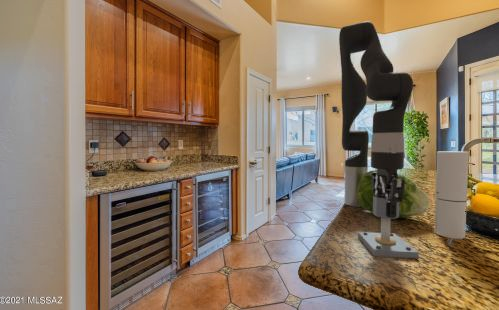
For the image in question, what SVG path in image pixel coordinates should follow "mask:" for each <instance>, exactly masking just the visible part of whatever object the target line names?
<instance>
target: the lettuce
mask: <svg viewBox="0 0 499 310" xmlns="http://www.w3.org/2000/svg"><path fill="white" fill-rule="evenodd" d="M372 172H377V169H376V170H375V169H374V170H369V171H368V172H367V173H365V174H364V175H363V176H362V178H361V180H360V182H359V185H358V189H357V200H358V203H359V204H360V205H361V207H360V208H362V209H364V210H366V211H368V212H369V213H372V214H373V196H374V195H375V193H373V191H372ZM397 174H398V178H399V179H404V180H405V185H404V193H403V201H402V202H399V217H398V218H397V219H404V218H409V217H413V216H420V215H423V214H425V213H427V211H428V209H429V208H430V198H429V196H428V195H427V194H426V192H425V191H424V190H423V189H421V188H420V187H419V186H417V184H416V183H415V182H414V181H413V180H411V179H410V178H408V177H406V176H405V175H402V174H399V173H397ZM389 195H390V194H389ZM398 195H399V194H398Z"/></svg>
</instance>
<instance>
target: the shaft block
mask: <svg viewBox="0 0 499 310" xmlns="http://www.w3.org/2000/svg"><path fill="white" fill-rule="evenodd" d="M391 220H392V219H386V218H381V217H380V232H369V231H368V232H367V231H366V232H365V231H358V232H357V237H358V239H359V240H360V241H361V242H362V243H363V245H364V246H365V247H366V248H367V250H368V251H369V252H370V253H371V254H372V255H373V256H374V257H378V258H380V257H382V258H400V259H401V258H403V259H405V258H406V259H419V251H417V249H415V248H414V247H412V246H411V245H410V244H408V243H407V242H406V241H405V240H403V239H402V238H401V237H400V236H398V235H397V234H396V233H393V232H392V233H391Z"/></svg>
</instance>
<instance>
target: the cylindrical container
mask: <svg viewBox="0 0 499 310" xmlns="http://www.w3.org/2000/svg"><path fill="white" fill-rule="evenodd" d="M469 154H470V152H469V151H458V150H457V151H450V150H443V151H440V150H439V151H438V150H437V151H436V175H435V176H436V177H435V178H436V180H435V203H434V204H435V207H434V208H435V209H434V233H435V234H436V235H438V236H442V237H444V238H449V239H453V240H454V239H455V240H463V238H464V239H465V238H466V231H467V227H466V226H467V225H466V224H467V204H468V203H467V200H468V180H469V179H468V177H469V176H468V175H469ZM465 211H466V212H465Z"/></svg>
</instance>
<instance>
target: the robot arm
mask: <svg viewBox="0 0 499 310" xmlns="http://www.w3.org/2000/svg"><path fill="white" fill-rule="evenodd" d="M338 35H339V38H338V42H339V43H338V45H339V55H340V56H339V58H340V67H341V94H340V95H341V111H342V123H341V124H342V128H341V146H342V147H341V148H342V149H343V151H348V152H359V154H357V155H355V156H353V157H351V158H347V159H345V160H344V202H345V203H344V205H347V206H349V207H356V208H362V207H361V205H360V204H359V203H358V200H357V189H358V185H359V182H360V180H361V178H362V176H363V175H364V174H365V173H367V172H369V171H368V168H369V166H368V165H369V164H368V163H369V160H368V157H369V154H368V153H369V142H370V137H369V136H370V134H369V132H368V130H367V129H352V130H351V127H352V125H353V123H354V122H355V120H356V119H357V117H358V116H359V115H360V113H361V112H362V111H363V110H364V109H365V107H366V105H367V100H368V99H369V100H370V101H374V102H391V105H390V107H388V108H387V109H382V110H381V109H380V110H378V111H375V112H374V113H373V116H372V135H371V136H372V137H371V144H370V145H371V146H370V167H371V168H372V169H374V170H375V169H376V170H377V172H372V191H373V193H375V195H377V194H382V195H385V196H386V202H387V203H386V216H387V217H388V218H395V217H396V211H397V203H399V202H402V201H403V193H404V185H405V180H404V179H399V178H398V174H399V173H398V170H402V169H404V164H405V162H404V161H405V136H404V128H405V127H404V125H405V124H404V123H405V120H404V119H405V114H406V110H407V108H408V104H409V101H410V99H411V95H412V92H413V89H414V80H413V77H412V76H411V74H409V73H407V72H394V65H393V63H392V62H391V60H390V59H389V58H388V56H387V55H386V53H385V51H384V50H383V47H382V44H381V40H380V38H379V36H378V32H377V29H376V27H375V25H374V24H373V23H372V22H371V21H362V22H357V23H354V24H353V23H352V24H349V25H345V26H342V27H341V28H340V31H339V34H338ZM360 52H361V53H362V52H363V54H362V55H361V57H360V61H359V62H360V68H361V71H362V73H363V75H364V77H365V80H366V81H365V80H364V79H363V77H362V76H361V75H360V74H359V72H358V71H357V70H356V68H355V66H354V65H353V62H352V59H351V56H352V55H351V54H355V53H360ZM389 194H390V195H389ZM398 194H399V195H398Z"/></svg>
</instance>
